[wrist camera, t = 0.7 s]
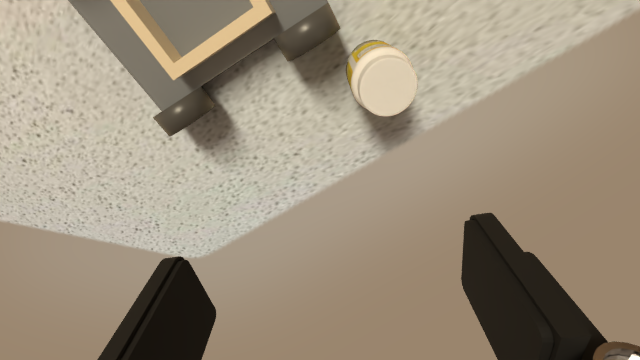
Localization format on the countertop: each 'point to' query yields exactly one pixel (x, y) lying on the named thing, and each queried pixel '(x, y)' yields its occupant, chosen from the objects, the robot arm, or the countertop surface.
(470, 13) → the countertop surface
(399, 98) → the supplement bottle
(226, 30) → the toy chassis
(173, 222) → the countertop surface
